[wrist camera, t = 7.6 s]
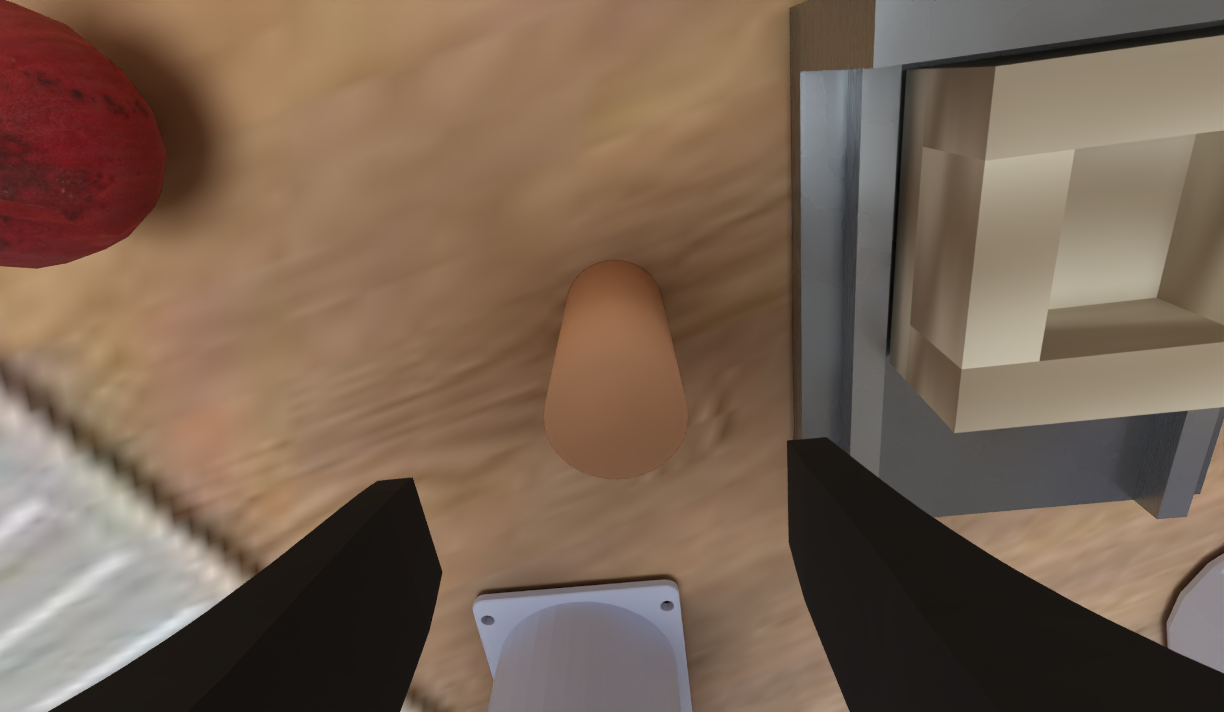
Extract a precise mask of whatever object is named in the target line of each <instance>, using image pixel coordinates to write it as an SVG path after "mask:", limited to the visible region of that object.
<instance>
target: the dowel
mask: <svg viewBox="0 0 1224 712" xmlns="http://www.w3.org/2000/svg"><path fill="white" fill-rule="evenodd" d="M544 425H545V430H546V433H547V436H548V439H549V441H550V443H551V445H552V446H553V448H554V449H555V451H556V452H557V453H558V454H559V456H560V457H561V458H562V459H563V460H565V461H566V462H567V463H568V464H569V465H571V466H572V467H574V468H575V469H577V470H579V471H581V472H583V473H586V474H588V475H591V476H595V477H599V478H605V479H628V478H633V477H637V476H640V475H643V474H646V473H648V472H650V471H653V470H654V469H656V468H658V467H659V466H661V465H662V464H664V463H665V462H666V461H667V460H668V459H669V458H670V457H671V456H672V455H673V454H674V453H675V452H676V450H677V449H678V448H679V446H680V444H681V443H682V441H683V438H684V436H685V433H686V429H687V425H688V407H687V402H686V398H685V394H684V390H683V385H682V381H681V377H680V373H679V368H678V364H677V360H676V356H675V352H674V347H673V343H672V339H671V335H670V331H669V326H668V322H667V318H666V314H665V309H664V305H663V301H662V297H661V293H660V290H659V288H658V286H657V284H656V282H655V281H654V279H653V278H652V277H651V276H650V275H649V274H648V273H647V272H646V271H645V270H643V269H642V268H640V267H639V266H637V265H634V264H632V263H629V262H625V261H617V260H611V261H604V262H600V263H597V264H594V265H592V266H590V267H589V268H587V269H586V270H584V271H583V272H582V273H581V274H580V275H579V276H578V277H577V278H576V279H575V280H574V282H573V284H572V285H571V287H570V290H569V292H568V296H567V300H566V305H565V310H564V315H563V320H562V325H561V329H560V334H559V339H558V344H557V349H556V354H555V358H554V363H553V368H552V373H551V378H550V383H549V388H548V392H547V397H546V402H545V408H544Z"/></svg>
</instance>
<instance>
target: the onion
mask: <svg viewBox="0 0 1224 712" xmlns="http://www.w3.org/2000/svg"><path fill="white" fill-rule="evenodd" d="M166 160H167V152H166V149H165V146H164V143H163V140H162V137H161V134H160V130H159V127H158V124H157V121H156V118H155V115H154V112H153V111H152V109H151V108H150V107H149V105H148V104H147V103H146V101H145V100H144V99H143V97H142V96H141V95H140V93H139V92H138V91H137V89H136V88H135V87H134V85H133V84H132V83H131V81H130V80H129V79H128V78H127V76H126V75H125V74H124V73H123V72H122V71H121V70H120V69H119V68H118V67H117V66H116V65H115V64H114V63H113V62H112V61H110V60H109V59H108V58H107V57H106V56H104V55H103V54H102V53H101V52H99V51H98V50H97V49H96V48H94V47H93V46H92V45H91V44H90V43H88V42H87V41H86V40H85V39H83V38H82V37H81V36H80V35H78V34H77V33H76V32H75V31H74V30H72V29H71V28H70V27H69V26H67V25H65V24H63V23H61V22H58V21H56V20H53V19H51V18H49V17H46V16H44V15H41V14H39V13H37V12H34V11H32V10H29V9H27V8H25V7H22V6H20V5H17V4H15V3H12V2H9V1H5V0H0V266H7V267H22V268H36V269H37V268H42V267H48V266H54V265H59V264H65V263H69V262H71V261H74V260H77V259H80V258H82V257H85V256H88V255H91V254H93V253H96V252H99V251H102V250H104V249H107V248H108V247H110V246H112V245H114V244H116V243H117V242H119V241H121V240H123V239H125V238H127V237H128V236H129V235H130V234H131V233H132V232H133V231H134V230H135V229H136V227H137V226H138V225H139V224H140V223H141V222H142V221H143V220H144V218H145V217H146V216H147V215H148V214H149V213H150V212H151V211H152V209H153V208H154V207H155V205H156V203H157V201H158V199H159V197H160V194H161V192H162V186H163V179H164V173H165V167H166Z"/></svg>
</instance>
